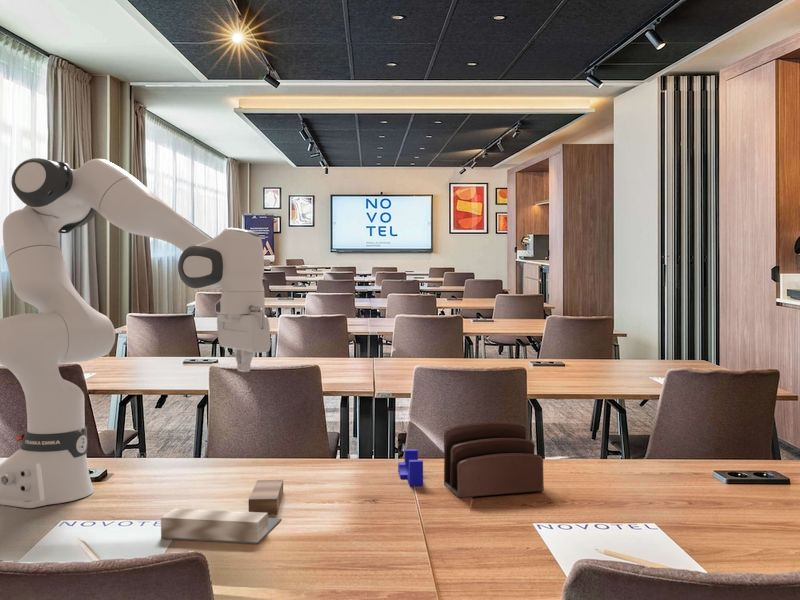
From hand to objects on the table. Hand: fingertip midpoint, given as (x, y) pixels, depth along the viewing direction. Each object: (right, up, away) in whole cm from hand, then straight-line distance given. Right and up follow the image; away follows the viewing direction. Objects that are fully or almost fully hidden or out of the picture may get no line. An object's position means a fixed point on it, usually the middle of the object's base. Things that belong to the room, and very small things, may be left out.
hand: (243, 371), depth 153 cm
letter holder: (+53, -27, +8) cm, 60 cm away
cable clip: (+35, -27, +15) cm, 47 cm away
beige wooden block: (-1, -28, -22) cm, 35 cm away
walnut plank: (+5, -28, -3) cm, 28 cm away
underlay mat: (0, -28, -18) cm, 33 cm away
